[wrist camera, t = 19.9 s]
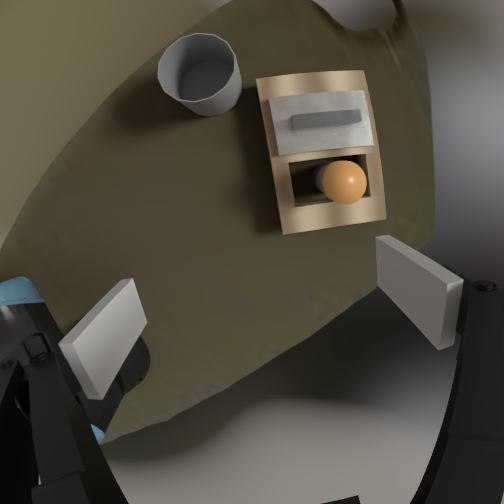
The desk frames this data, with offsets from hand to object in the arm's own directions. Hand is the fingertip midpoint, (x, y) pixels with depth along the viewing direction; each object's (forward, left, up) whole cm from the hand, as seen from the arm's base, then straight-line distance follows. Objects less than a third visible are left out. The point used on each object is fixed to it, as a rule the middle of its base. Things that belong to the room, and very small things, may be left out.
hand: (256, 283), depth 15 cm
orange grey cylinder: (+9, +3, -26) cm, 28 cm away
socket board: (+9, +7, -26) cm, 28 cm away
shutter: (+9, +10, -22) cm, 26 cm away
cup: (-4, +18, -26) cm, 32 cm away
